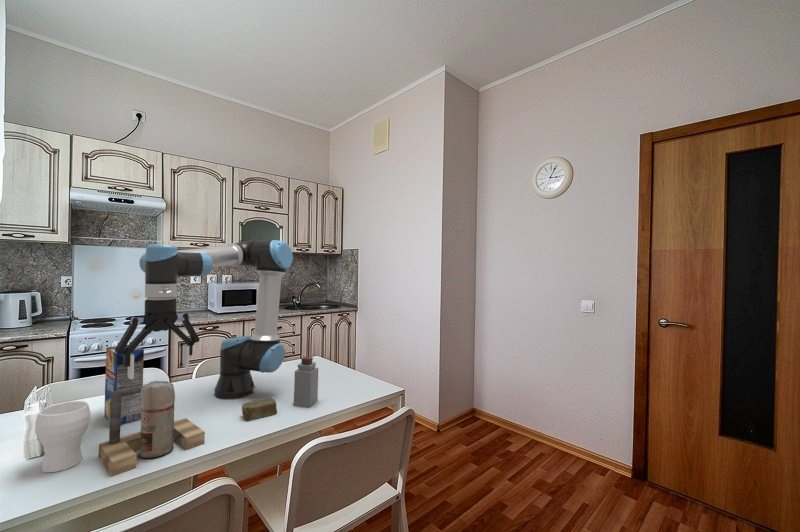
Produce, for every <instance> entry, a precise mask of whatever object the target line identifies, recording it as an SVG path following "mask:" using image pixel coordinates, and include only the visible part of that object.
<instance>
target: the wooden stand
mask: <svg viewBox="0 0 800 532" xmlns="http://www.w3.org/2000/svg"><path fill="white" fill-rule="evenodd" d="M136 393H141V388H140V389H135V390H130V391H126V392H122V391H113V392H111V396H110V422H109V429H108V430H109V431H108V432H109V433H108V440H106V441H104V442H103V441H102V442H100V443H98V457H99V459H100V460H101V462H102V464H103V465H104V466H105V468H106V470H107V471H108V473H109V474H110V476H111V477H114V476H117V475H120V474H123V473H125V472H128V471H131V470H133V469H136V468H137V453H136V452H135V451H138V450H139V451H140V436H141V430H140V431H137V432H133V433H131V434H126V435H123V436H121V426H122V425H121V397H123V396H127V395H132V394H136ZM205 434H206V433H205V430H203V429H201V428H200V427H199V426H197V425H196V424H195V423H194V422H192V421H191V420H190V419H188V418H186V417H185V418H182V419H179V420H178V419H177V420H174V434H173V441H175V442H176V443H177V444H179V445H180V447H182V448H183V449H184V450H186V451H187V450H190V449H193V448H196V447H198V446H201V445H203V444H205V438H206V437H205Z"/></svg>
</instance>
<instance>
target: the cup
mask: <svg viewBox="0 0 800 532" xmlns="http://www.w3.org/2000/svg"><path fill="white" fill-rule="evenodd" d="M91 413H92V412H91V409H90V406H89V403H88V402H87V401H85V400H72V401H64V402H60V403H56V404H52V405H50V406H49V405H48V406H46V407H44V408H42V409H41V410H39V411H38V414H37V416H36V419H35V425H34V426H35V428H34V433H35V436H36V438H37V440H38V441H39V442H40V444H41V445H42V446H43V450H44V451H43V452H44V457H43V461H42V466H41V471H42V472H44V473H56V472H61V471H64V470H67V469H70V468H72V467H74V466H77V465H78V464H80V463H81V462H82V460H83V455H82V450H81V444H82V443H81V442H82V438H83V437H84V436H83V435H84V434H85V433H86V431H87V429H88V428H89V424H90V422H91V416H92V415H91Z"/></svg>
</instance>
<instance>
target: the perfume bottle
mask: <svg viewBox="0 0 800 532" xmlns="http://www.w3.org/2000/svg"><path fill="white" fill-rule="evenodd" d="M300 360H301V362H300V363H298V364H297V369H296V370H294V379H293V381H294V382H293V383H294V385H293V387H294V388H293V406H294V407H301V408H306V409H307V408H308V409H311V408H312V407H313V406H314V405H315V404H316V403H318V393H319V392H318V391H319V367H316V365H317V362H315V361H313V356H304V357H302V358H301V359H300Z"/></svg>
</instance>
